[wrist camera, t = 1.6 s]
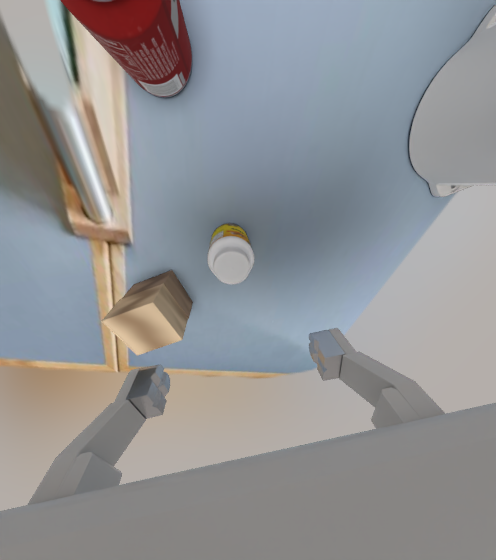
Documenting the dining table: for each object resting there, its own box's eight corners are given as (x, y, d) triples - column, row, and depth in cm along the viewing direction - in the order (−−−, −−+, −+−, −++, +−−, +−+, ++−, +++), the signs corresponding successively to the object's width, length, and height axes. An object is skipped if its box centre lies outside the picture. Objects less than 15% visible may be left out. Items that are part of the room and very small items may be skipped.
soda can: (194, 104, 20) (163, 30, 10) (128, 94, 19) (19, -1, 9) (191, 9, 17) (140, -247, 7) (112, -10, 16) (-87, -340, 6)
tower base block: (172, 269, 30) (164, 283, 26) (192, 301, 33) (188, 318, 29) (133, 284, 30) (120, 300, 26) (158, 314, 34) (149, 332, 30)
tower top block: (163, 283, 26) (152, 302, 22) (187, 318, 29) (182, 339, 26) (119, 299, 26) (101, 321, 23) (148, 332, 30) (137, 355, 26)
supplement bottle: (254, 242, 29) (268, 271, 20) (228, 263, 30) (229, 299, 21) (231, 213, 27) (235, 232, 18) (203, 238, 28) (193, 266, 19)
